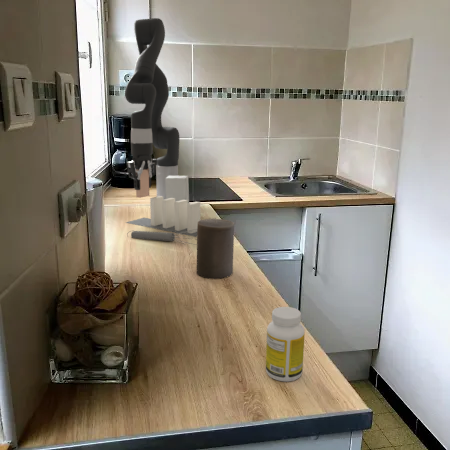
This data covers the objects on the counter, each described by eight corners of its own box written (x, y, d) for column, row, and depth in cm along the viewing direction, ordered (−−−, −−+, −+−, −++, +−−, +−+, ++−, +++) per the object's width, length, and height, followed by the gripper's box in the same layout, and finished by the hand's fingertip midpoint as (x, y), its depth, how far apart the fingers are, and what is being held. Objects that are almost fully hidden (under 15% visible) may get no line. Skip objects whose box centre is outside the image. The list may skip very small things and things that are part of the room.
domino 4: (183, 227, 173) (183, 199, 170) (187, 227, 172) (187, 200, 169) (174, 230, 168) (174, 201, 166) (178, 230, 168) (178, 202, 165)
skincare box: (189, 214, 195) (189, 175, 191) (186, 217, 188) (186, 178, 184) (169, 213, 195) (168, 174, 192) (165, 216, 189) (165, 177, 185)
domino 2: (159, 222, 178) (159, 195, 176) (163, 223, 177) (163, 196, 175) (150, 225, 174) (150, 198, 172) (154, 226, 173) (154, 198, 171)
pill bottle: (298, 363, 85) (302, 304, 82) (305, 383, 79) (309, 320, 76) (263, 363, 85) (265, 304, 82) (267, 383, 79) (270, 320, 76)
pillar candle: (200, 280, 123) (202, 223, 119) (192, 267, 132) (193, 214, 128) (237, 277, 125) (239, 221, 122) (227, 265, 135) (229, 213, 131)
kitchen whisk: (132, 235, 163) (131, 217, 161) (225, 248, 152) (226, 228, 150) (122, 240, 158) (121, 221, 156) (218, 253, 146) (219, 233, 145)
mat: (143, 218, 186) (143, 217, 186) (212, 231, 169) (212, 230, 169) (125, 223, 178) (125, 222, 178) (195, 237, 161) (195, 236, 161)
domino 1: (145, 195, 179) (145, 168, 177) (149, 195, 178) (149, 168, 176) (136, 197, 175) (135, 169, 173) (140, 197, 174) (139, 170, 172)
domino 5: (196, 229, 170) (196, 201, 167) (200, 230, 169) (200, 202, 166) (187, 232, 166) (187, 203, 163) (191, 233, 165) (191, 204, 162)
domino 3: (171, 224, 175) (171, 197, 173) (175, 225, 175) (175, 198, 172) (162, 227, 171) (162, 199, 169) (166, 228, 170) (166, 200, 168)
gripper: (147, 139, 180) (148, 185, 184) (119, 141, 168) (121, 190, 172) (163, 141, 176) (163, 187, 180) (135, 143, 164) (136, 192, 168)
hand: (142, 188), depth 176 cm, fingers closed on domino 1, 5 cm apart
